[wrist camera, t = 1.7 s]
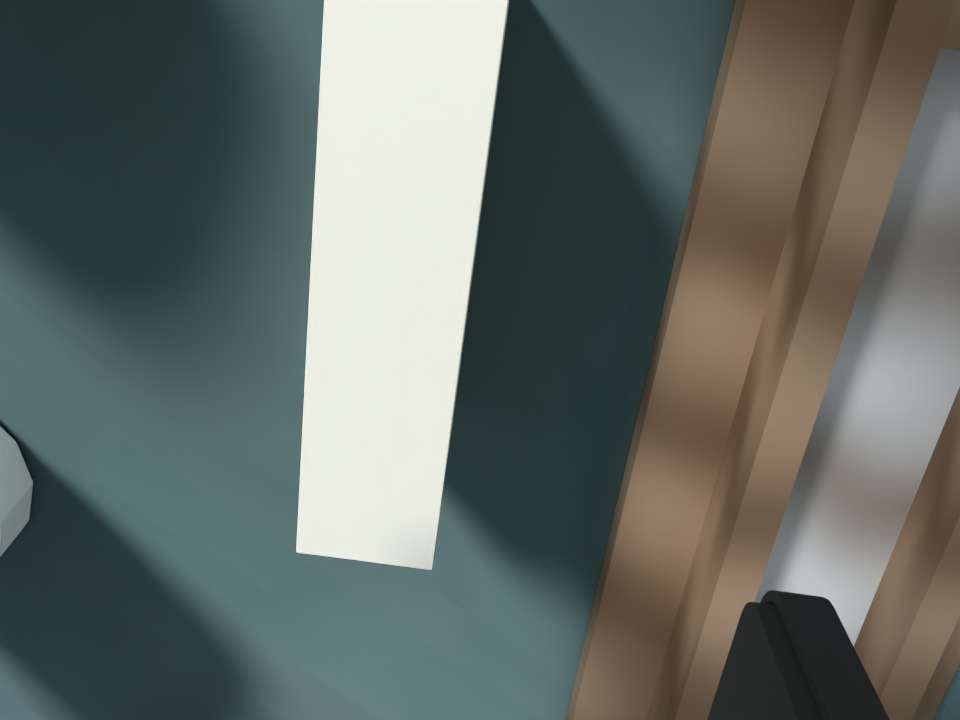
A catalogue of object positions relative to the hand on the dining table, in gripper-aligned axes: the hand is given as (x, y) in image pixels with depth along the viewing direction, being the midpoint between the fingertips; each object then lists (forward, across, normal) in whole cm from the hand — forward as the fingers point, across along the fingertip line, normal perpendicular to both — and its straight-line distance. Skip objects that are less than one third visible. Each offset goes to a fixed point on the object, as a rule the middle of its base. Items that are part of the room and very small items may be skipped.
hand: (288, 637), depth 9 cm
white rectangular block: (+16, 0, -1) cm, 16 cm away
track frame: (+16, -13, +5) cm, 22 cm away
